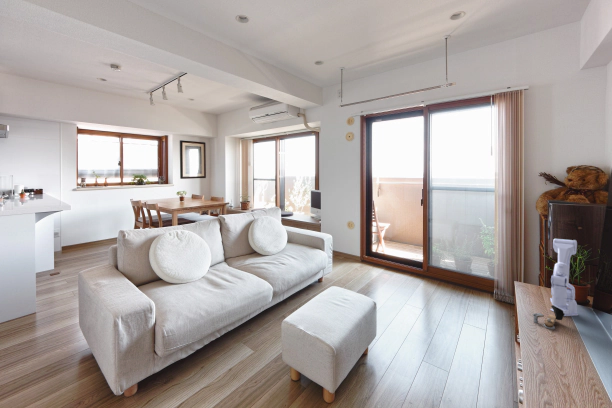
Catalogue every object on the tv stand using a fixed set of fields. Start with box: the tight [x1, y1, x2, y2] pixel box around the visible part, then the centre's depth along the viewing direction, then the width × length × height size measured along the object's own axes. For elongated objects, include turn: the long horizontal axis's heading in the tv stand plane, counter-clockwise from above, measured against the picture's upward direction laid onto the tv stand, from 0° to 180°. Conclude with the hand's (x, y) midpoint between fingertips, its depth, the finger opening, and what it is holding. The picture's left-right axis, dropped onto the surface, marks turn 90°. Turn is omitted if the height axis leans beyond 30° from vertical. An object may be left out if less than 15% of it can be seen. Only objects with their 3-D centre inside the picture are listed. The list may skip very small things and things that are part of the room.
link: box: [544, 314, 558, 327], centre depth 148 cm, size 11×4×4 cm, turn 127°
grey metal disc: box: [542, 322, 556, 331], centre depth 146 cm, size 5×5×1 cm
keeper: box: [532, 312, 545, 324], centre depth 151 cm, size 2×4×5 cm, turn 93°
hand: (559, 319), depth 148 cm, fingers closed, pressing on link
